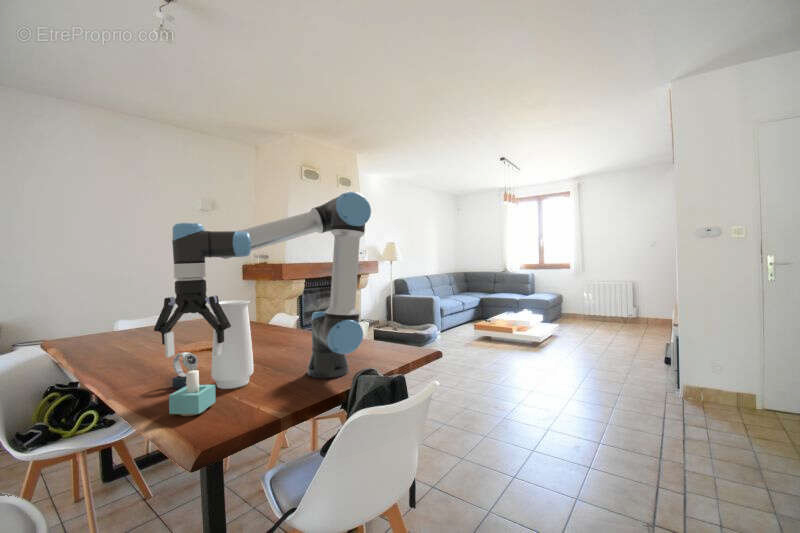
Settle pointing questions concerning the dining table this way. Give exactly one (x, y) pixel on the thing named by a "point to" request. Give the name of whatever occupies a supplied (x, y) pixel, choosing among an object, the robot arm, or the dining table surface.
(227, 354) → the vase
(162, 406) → the dining table surface
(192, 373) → the post
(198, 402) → the teal storage bin
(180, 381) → the watch
